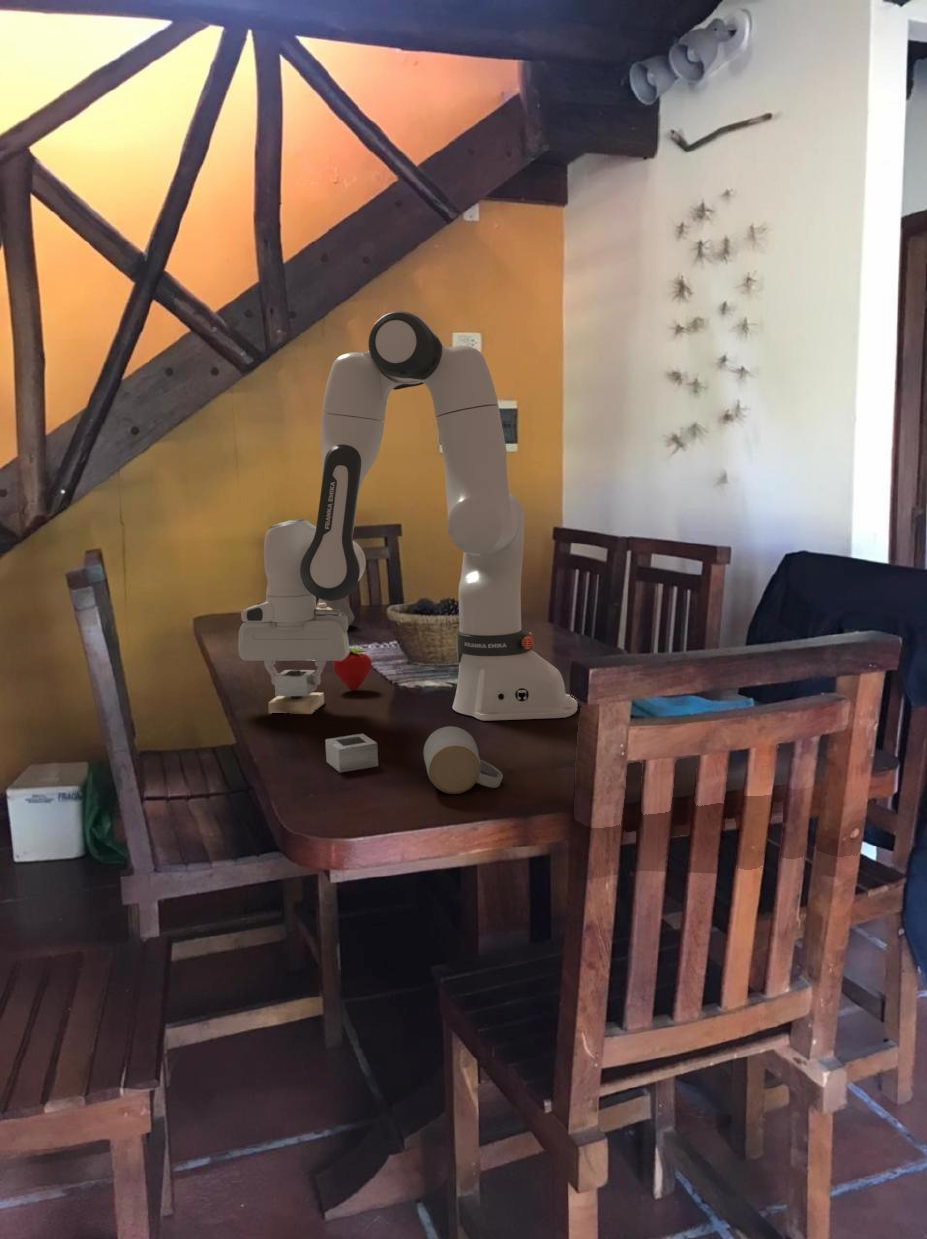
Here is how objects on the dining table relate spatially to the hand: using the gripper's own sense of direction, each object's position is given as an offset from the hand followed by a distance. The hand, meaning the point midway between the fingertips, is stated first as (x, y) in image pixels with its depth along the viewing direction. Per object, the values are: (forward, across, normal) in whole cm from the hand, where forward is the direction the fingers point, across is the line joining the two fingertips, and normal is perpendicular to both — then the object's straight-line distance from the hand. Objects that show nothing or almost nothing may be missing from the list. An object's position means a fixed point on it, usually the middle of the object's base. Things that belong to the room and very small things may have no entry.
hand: (296, 683), depth 178 cm
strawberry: (+5, -7, -14) cm, 16 cm away
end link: (+2, 0, 0) cm, 2 cm away
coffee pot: (+5, +15, -81) cm, 83 cm away
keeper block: (+5, 0, 0) cm, 5 cm away
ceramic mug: (+5, -37, +40) cm, 55 cm away
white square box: (+5, -19, +32) cm, 37 cm away
